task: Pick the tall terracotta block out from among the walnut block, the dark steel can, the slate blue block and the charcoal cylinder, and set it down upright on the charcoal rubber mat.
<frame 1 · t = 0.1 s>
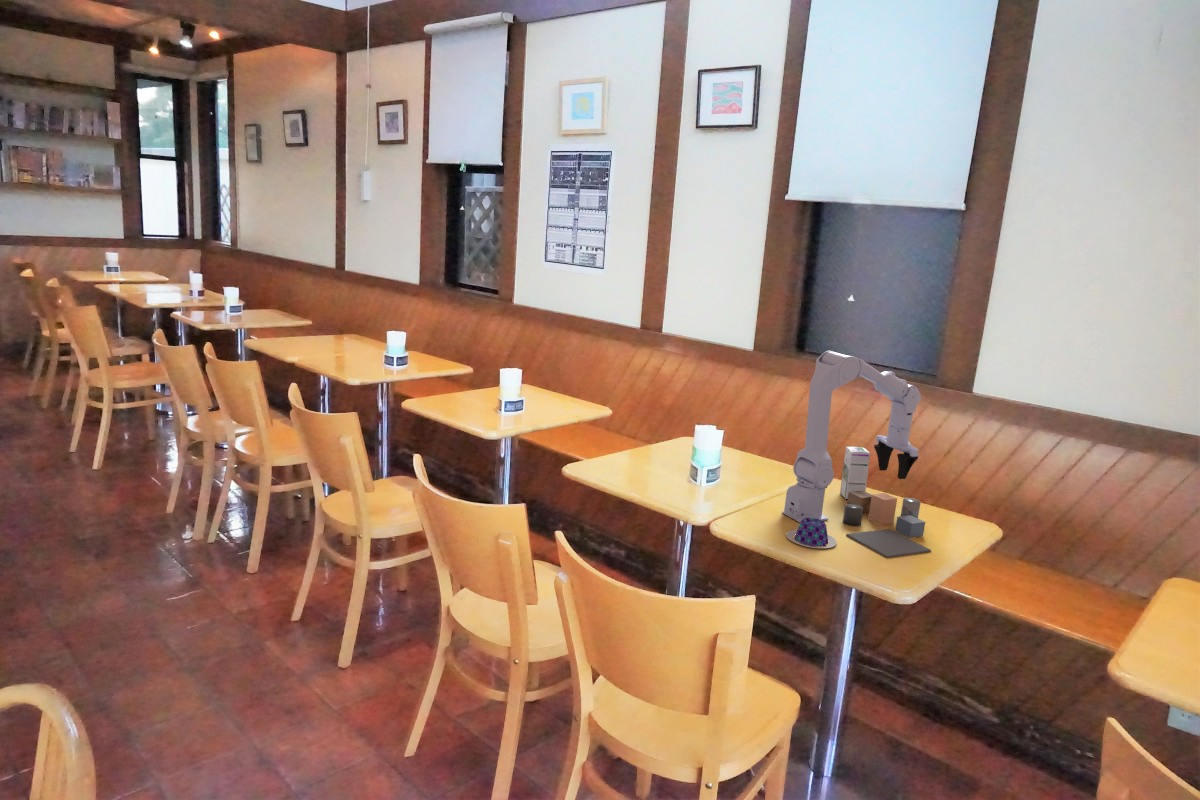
hand: (892, 474, 220), 10 cm above the table, tool pointing down, fingers open, 7 cm apart
charcoal cylinder: (851, 523, 209), on the table
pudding: (810, 542, 195), on the table
walnut block: (859, 511, 219), on the table
slate blue block: (908, 534, 204), on the table
terracotta block: (880, 521, 212), on the table
syrup box: (851, 497, 230), on the table
dark steel can: (908, 519, 215), on the table
charcoal mat: (887, 543, 196), on the table
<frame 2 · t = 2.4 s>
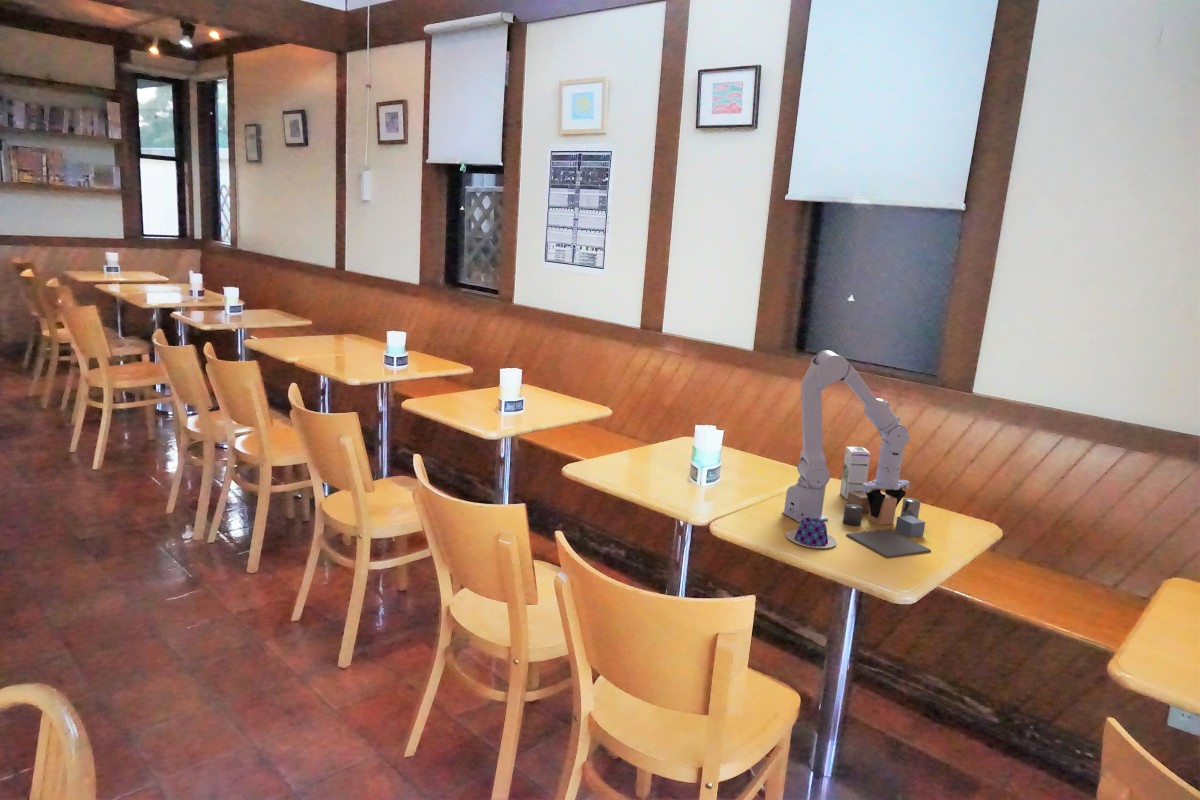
hand: (881, 515, 211), 2 cm above the table, tool pointing down, fingers closed on terracotta block, 4 cm apart
terracotta block: (880, 521, 212), on the table, touching gripper
everything else where it was.
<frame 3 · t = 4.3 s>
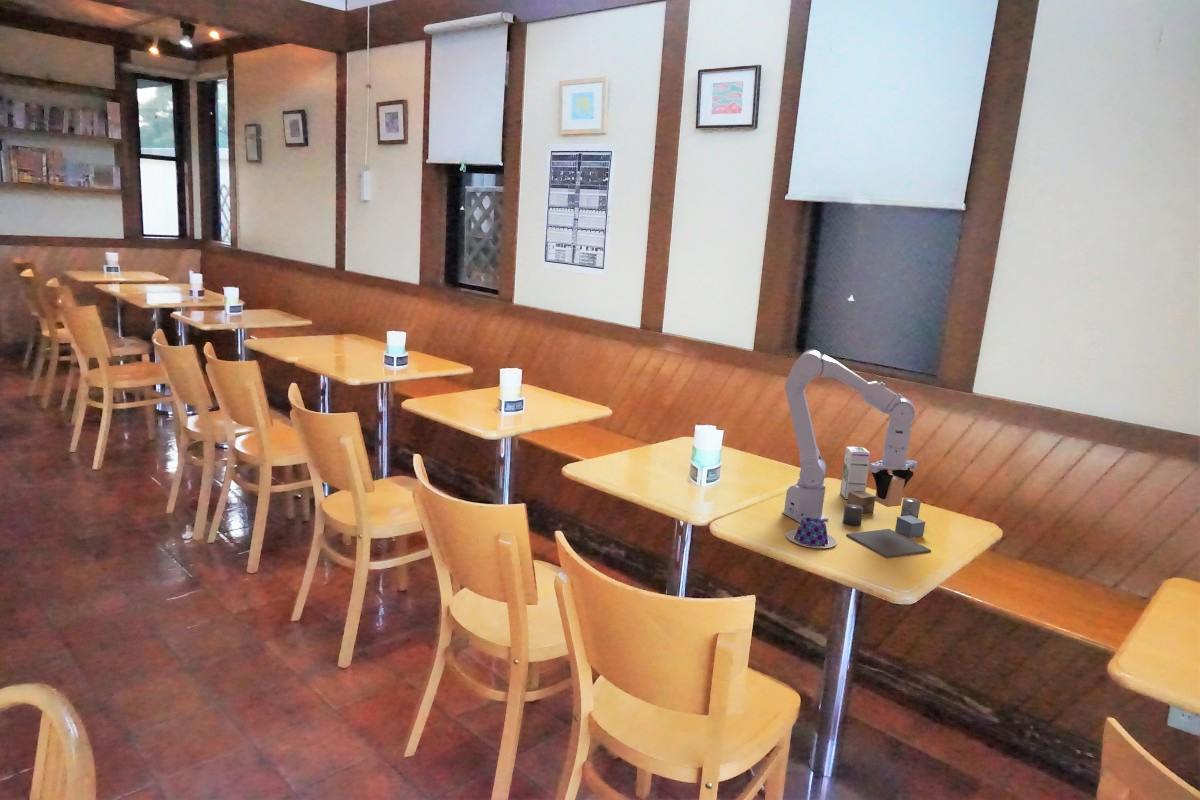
hand: (888, 497, 204), 9 cm above the table, tool pointing down, fingers closed on terracotta block, 4 cm apart
terracotta block: (887, 503, 204), point 7 cm above the table, touching gripper
everything else where it was.
when the fingers open (3 cm above the table, at t = 6.4 s): terracotta block stays where it is, resting on charcoal mat.
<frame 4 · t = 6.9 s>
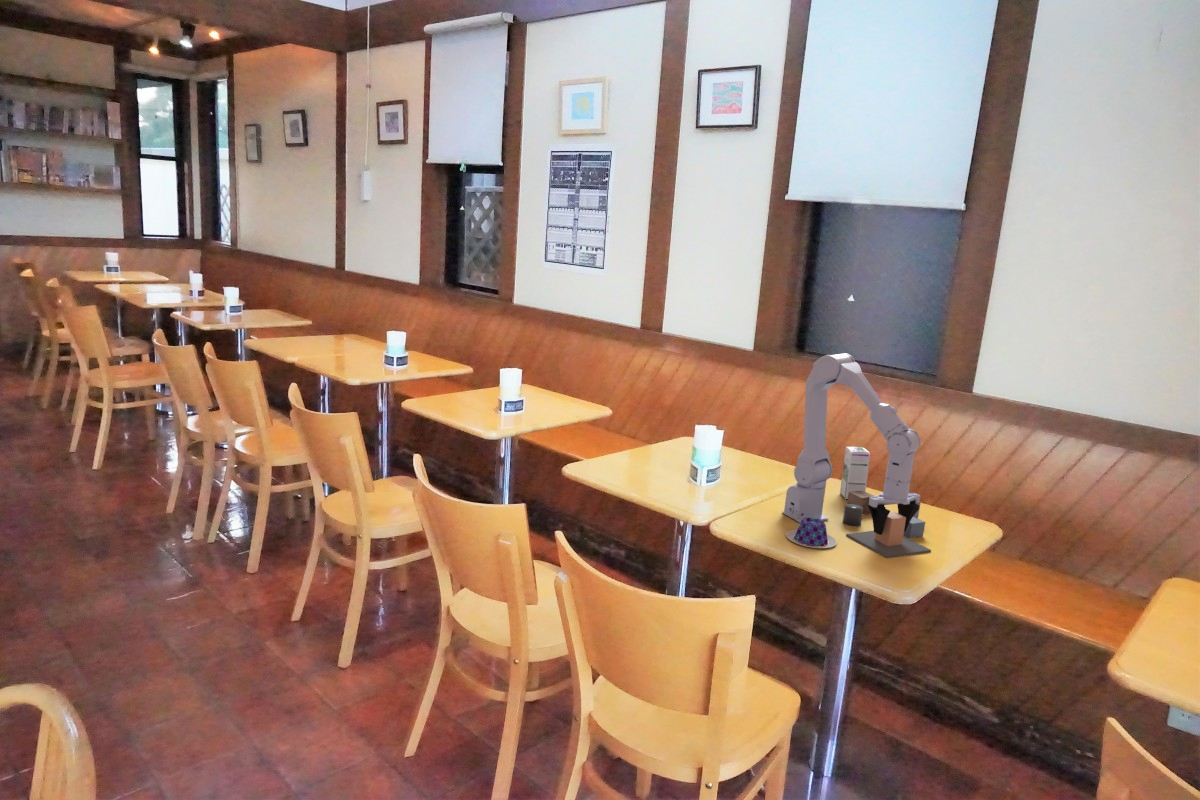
hand: (889, 531, 196), 3 cm above the table, tool pointing down, fingers open, 7 cm apart
terracotta block: (888, 541, 196), resting on charcoal mat
everything else where it was.
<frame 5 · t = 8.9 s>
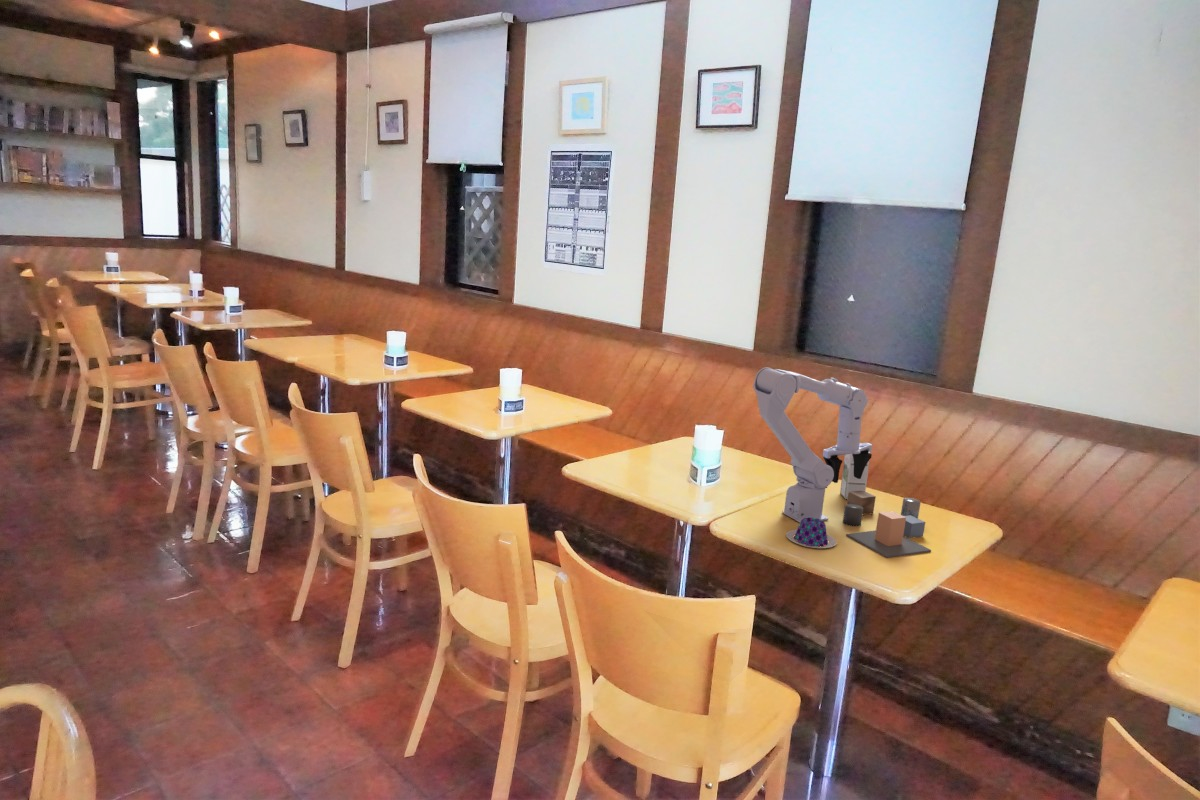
hand: (845, 479, 214), 9 cm above the table, tool pointing down, fingers open, 7 cm apart
nothing on the table moved.
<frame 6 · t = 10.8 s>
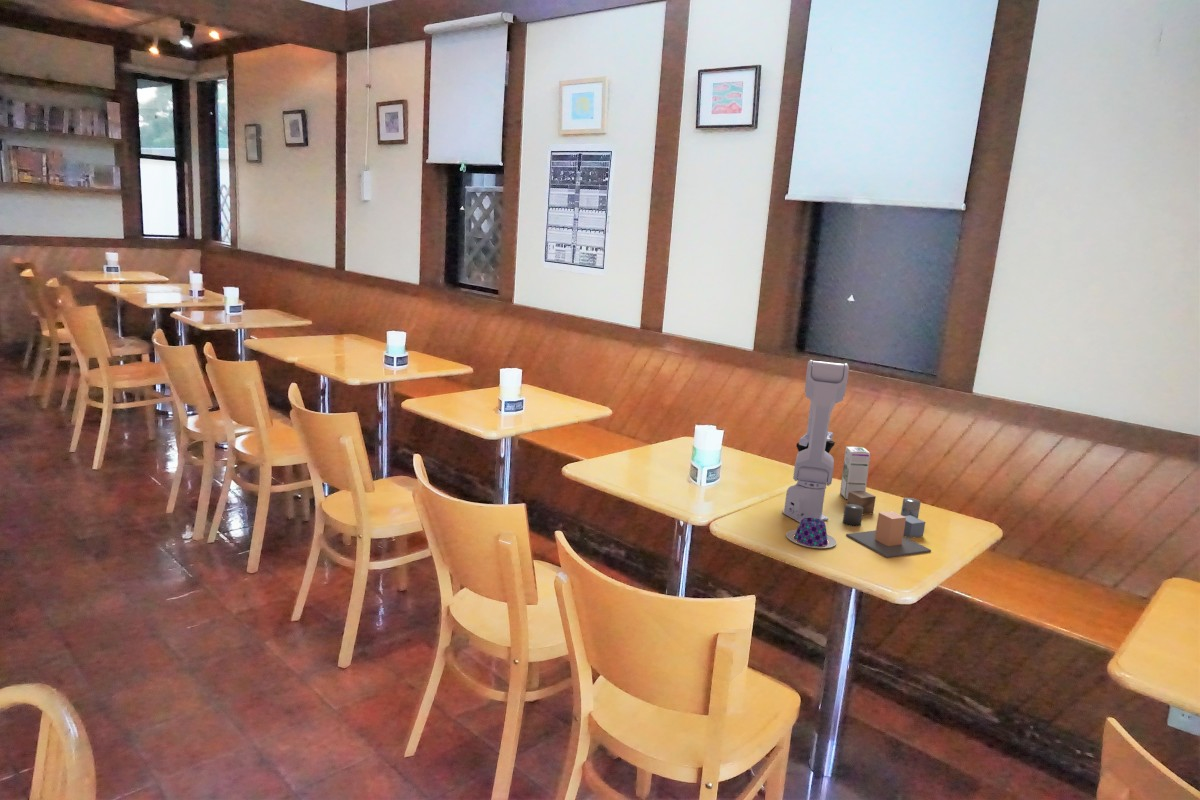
hand: (812, 466, 224), 9 cm above the table, tool pointing down, fingers open, 7 cm apart
nothing on the table moved.
at the end: terracotta block inside the target area on the charcoal mat (0.0 cm from its centre), point 0.5 cm above the charcoal mat's base; terracotta block tilted 0°; the gripper is holding nothing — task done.
